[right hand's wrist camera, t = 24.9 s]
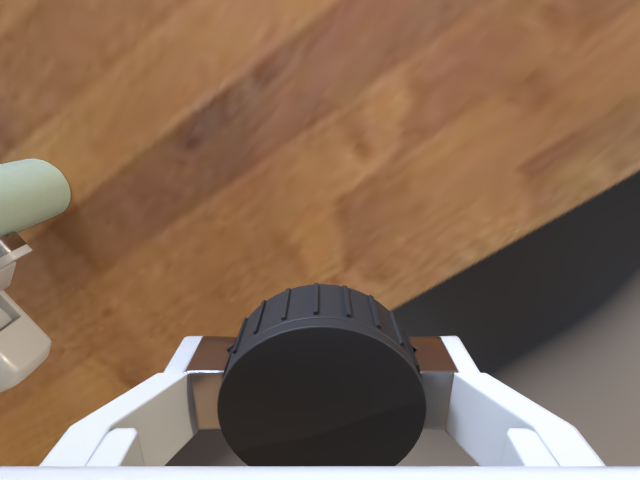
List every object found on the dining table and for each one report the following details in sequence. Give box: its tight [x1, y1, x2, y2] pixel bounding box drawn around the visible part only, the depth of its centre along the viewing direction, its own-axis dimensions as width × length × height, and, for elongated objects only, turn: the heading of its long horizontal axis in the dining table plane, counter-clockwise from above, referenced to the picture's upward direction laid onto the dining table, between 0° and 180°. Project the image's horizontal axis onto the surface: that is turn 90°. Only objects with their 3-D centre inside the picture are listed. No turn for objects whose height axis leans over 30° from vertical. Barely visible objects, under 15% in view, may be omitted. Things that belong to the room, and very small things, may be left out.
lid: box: [217, 283, 427, 466], centre depth 10 cm, size 5×5×2 cm
